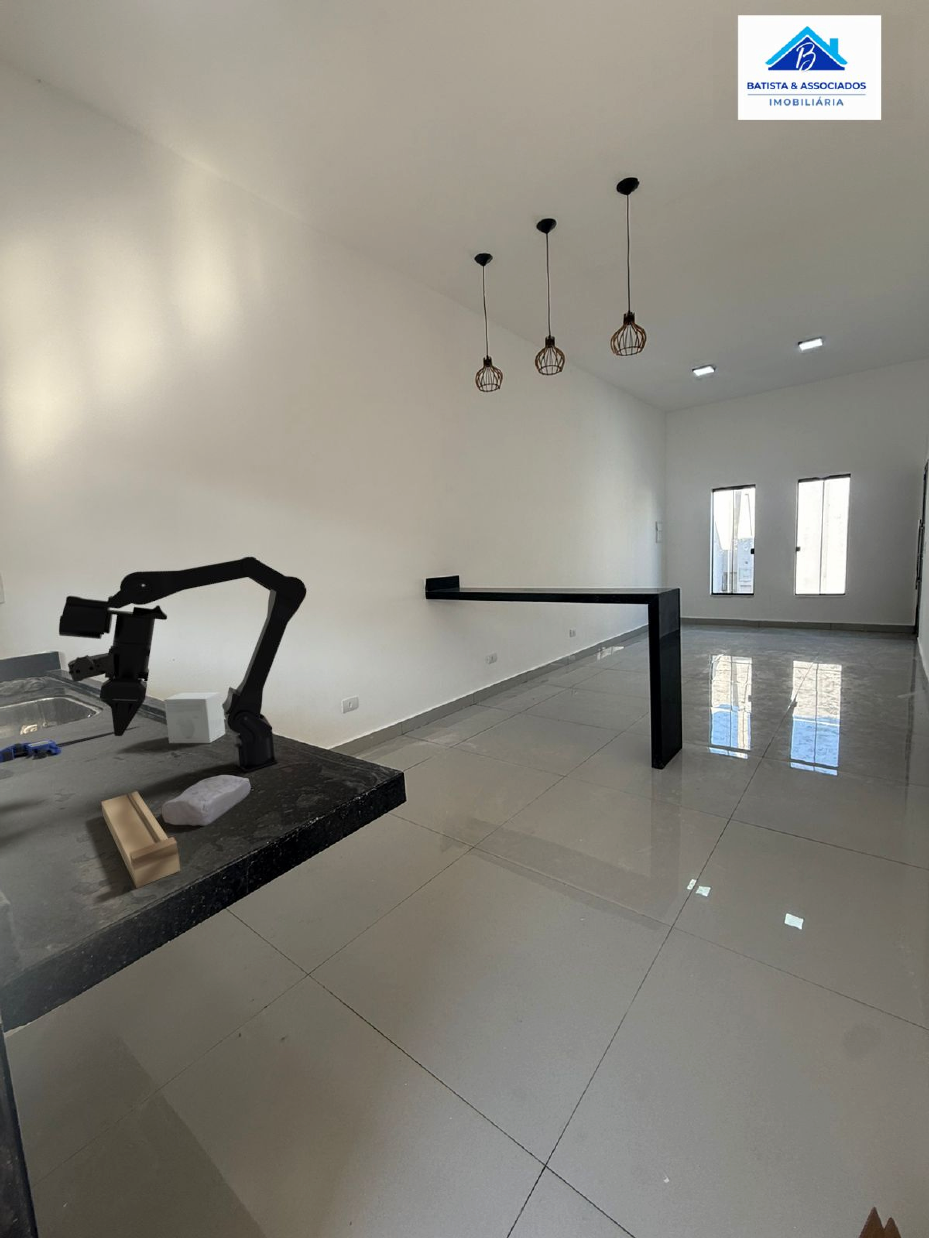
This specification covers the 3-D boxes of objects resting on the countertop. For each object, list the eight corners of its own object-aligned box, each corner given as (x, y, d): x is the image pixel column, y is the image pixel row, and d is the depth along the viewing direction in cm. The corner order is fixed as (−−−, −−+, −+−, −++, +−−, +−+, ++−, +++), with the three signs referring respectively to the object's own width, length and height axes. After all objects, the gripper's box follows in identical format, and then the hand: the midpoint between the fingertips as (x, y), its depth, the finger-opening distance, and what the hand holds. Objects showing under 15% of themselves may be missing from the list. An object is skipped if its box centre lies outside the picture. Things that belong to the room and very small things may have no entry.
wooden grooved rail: (138, 804, 86) (135, 782, 86) (180, 870, 67) (176, 842, 67) (103, 815, 83) (99, 793, 82) (136, 888, 64) (132, 859, 63)
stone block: (157, 834, 80) (209, 828, 78) (150, 806, 80) (201, 798, 78) (210, 801, 92) (257, 794, 89) (204, 775, 91) (250, 768, 89)
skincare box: (226, 733, 120) (222, 691, 119) (210, 743, 114) (205, 699, 113) (186, 733, 122) (181, 691, 120) (167, 743, 115) (162, 699, 114)
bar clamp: (2, 758, 104) (-5, 747, 110) (4, 769, 104) (-4, 758, 111) (172, 721, 128) (158, 714, 135) (173, 730, 129) (158, 723, 135)
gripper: (83, 630, 93) (71, 713, 93) (66, 644, 77) (52, 744, 77) (153, 636, 99) (142, 715, 99) (152, 651, 83) (138, 744, 83)
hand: (120, 728), depth 89 cm, fingers open, 9 cm apart
